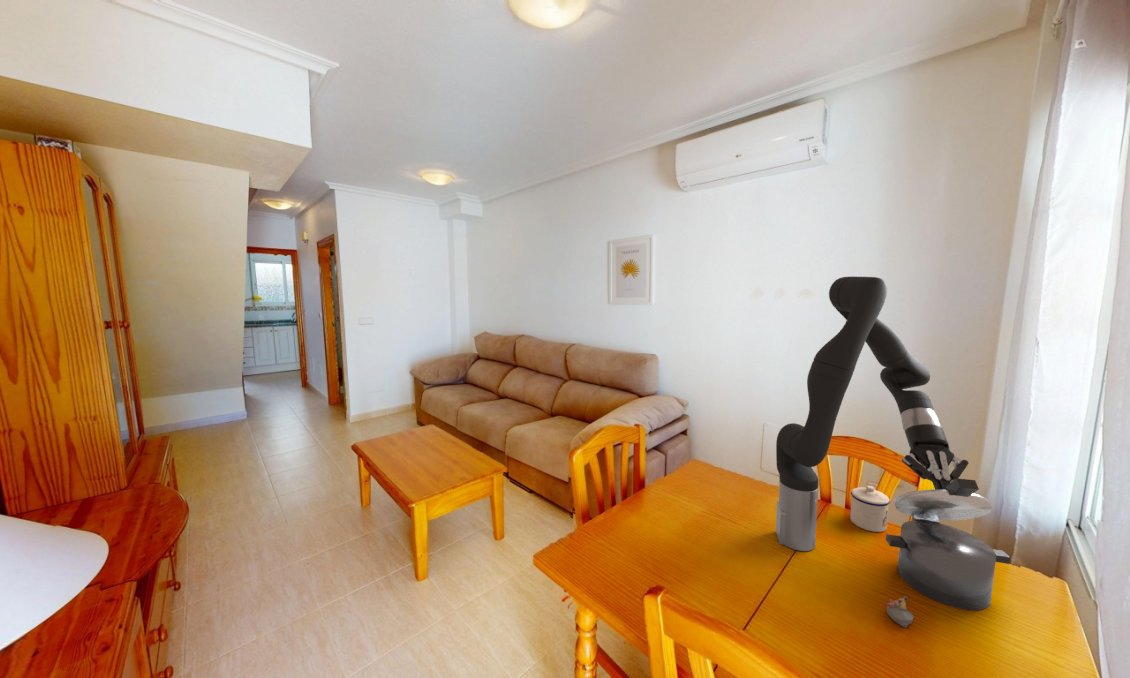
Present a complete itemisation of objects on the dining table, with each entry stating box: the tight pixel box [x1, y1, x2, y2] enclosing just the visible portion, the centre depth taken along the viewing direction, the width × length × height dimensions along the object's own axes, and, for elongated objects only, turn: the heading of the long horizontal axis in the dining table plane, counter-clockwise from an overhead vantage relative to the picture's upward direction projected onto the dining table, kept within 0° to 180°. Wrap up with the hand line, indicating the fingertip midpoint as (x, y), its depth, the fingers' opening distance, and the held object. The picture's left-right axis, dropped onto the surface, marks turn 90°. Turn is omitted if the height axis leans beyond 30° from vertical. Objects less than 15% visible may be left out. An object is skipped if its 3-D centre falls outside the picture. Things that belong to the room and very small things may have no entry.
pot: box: [885, 516, 1011, 611], centre depth 94 cm, size 22×17×11 cm
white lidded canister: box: [849, 485, 891, 533], centre depth 118 cm, size 12×9×12 cm
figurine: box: [886, 595, 915, 628], centre depth 84 cm, size 5×4×6 cm
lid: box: [893, 478, 993, 521], centre depth 93 cm, size 22×17×3 cm
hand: (946, 497), depth 92 cm, fingers closed
